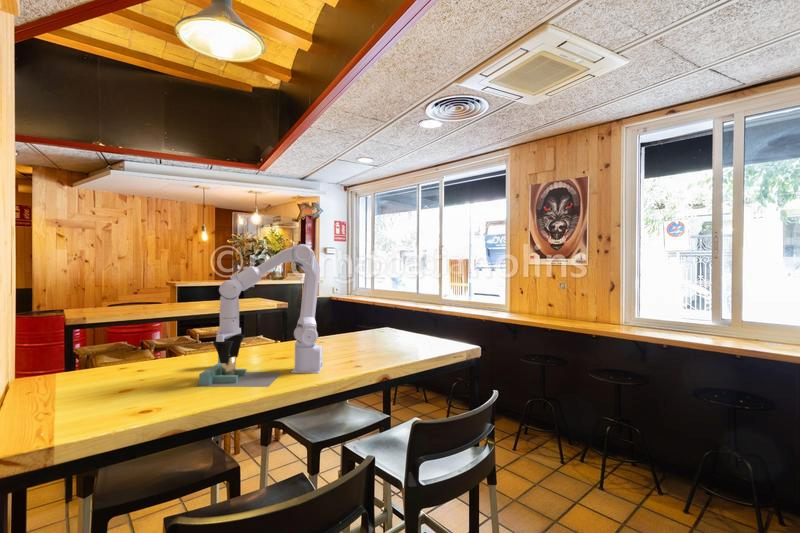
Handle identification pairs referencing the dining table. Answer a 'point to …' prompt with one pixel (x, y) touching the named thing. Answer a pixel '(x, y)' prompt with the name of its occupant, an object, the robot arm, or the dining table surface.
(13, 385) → the dining table surface
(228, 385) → the mat
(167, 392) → the dining table surface
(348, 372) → the dining table surface
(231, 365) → the brass tube
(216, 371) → the socket dock
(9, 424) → the dining table surface
